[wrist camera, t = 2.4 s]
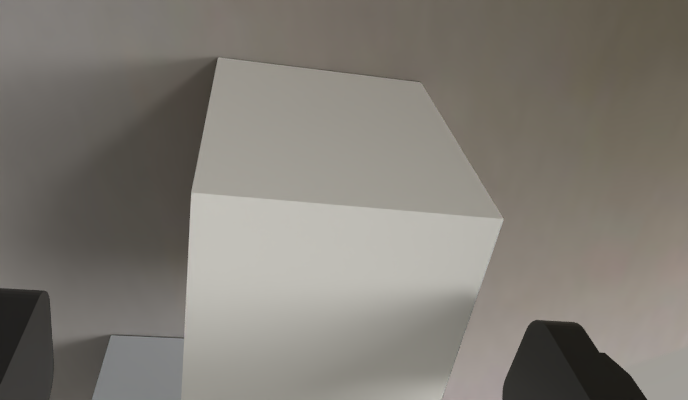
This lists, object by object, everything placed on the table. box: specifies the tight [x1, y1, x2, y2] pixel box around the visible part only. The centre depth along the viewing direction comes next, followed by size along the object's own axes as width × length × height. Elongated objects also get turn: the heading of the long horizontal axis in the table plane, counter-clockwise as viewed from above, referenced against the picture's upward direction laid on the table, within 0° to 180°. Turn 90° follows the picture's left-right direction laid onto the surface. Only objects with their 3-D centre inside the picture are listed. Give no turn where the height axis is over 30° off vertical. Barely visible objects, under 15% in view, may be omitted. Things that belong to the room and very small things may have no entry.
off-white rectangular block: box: [181, 57, 504, 400], centre depth 14 cm, size 5×5×7 cm
